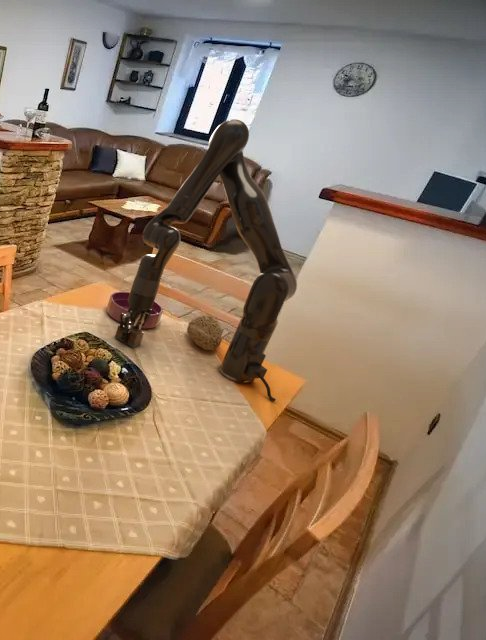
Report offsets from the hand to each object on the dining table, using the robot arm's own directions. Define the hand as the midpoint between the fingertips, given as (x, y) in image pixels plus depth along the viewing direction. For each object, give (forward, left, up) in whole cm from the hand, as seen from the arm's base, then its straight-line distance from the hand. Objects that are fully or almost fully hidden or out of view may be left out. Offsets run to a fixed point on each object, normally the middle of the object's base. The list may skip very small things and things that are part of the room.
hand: (128, 340), depth 156 cm
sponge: (0, -30, -1) cm, 30 cm away
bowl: (+17, -12, -1) cm, 21 cm away
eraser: (0, 0, 0) cm, 0 cm away
